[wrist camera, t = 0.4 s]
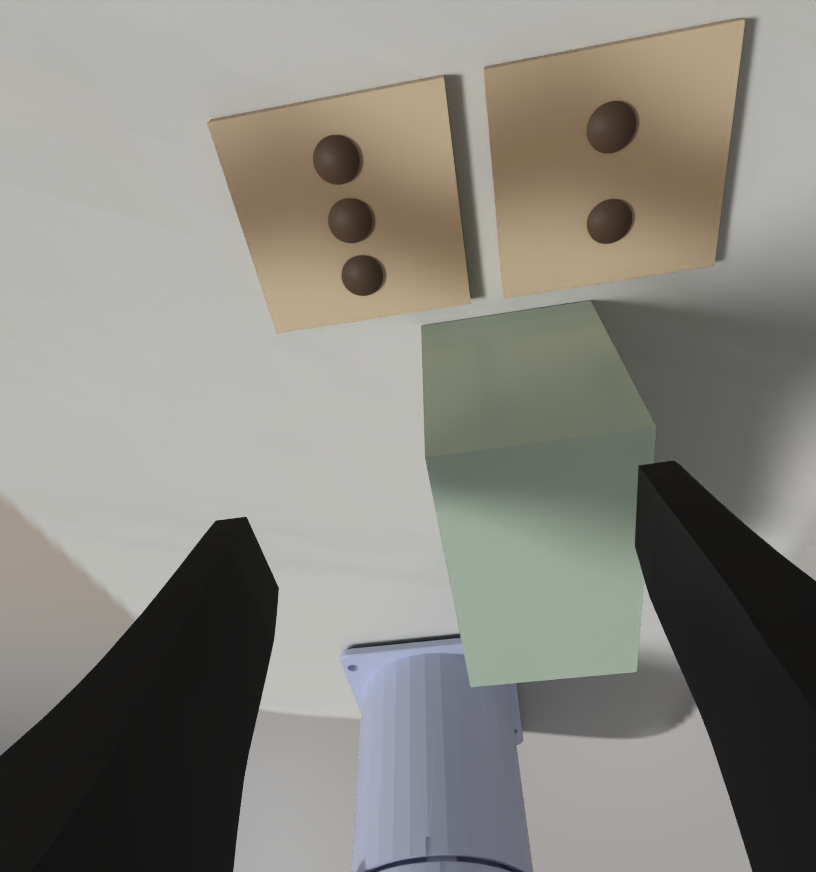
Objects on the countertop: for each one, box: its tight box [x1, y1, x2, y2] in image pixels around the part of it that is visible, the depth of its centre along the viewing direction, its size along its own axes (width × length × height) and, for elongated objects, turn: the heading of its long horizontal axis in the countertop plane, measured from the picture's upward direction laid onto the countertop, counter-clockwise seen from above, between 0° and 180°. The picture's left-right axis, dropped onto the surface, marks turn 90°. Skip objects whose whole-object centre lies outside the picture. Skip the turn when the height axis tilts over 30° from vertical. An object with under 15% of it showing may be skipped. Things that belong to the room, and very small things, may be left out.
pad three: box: [208, 75, 471, 333], centre depth 18 cm, size 6×6×1 cm
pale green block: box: [421, 300, 657, 687], centre depth 20 cm, size 10×5×6 cm, turn 10°
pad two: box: [484, 18, 745, 298], centre depth 17 cm, size 6×6×1 cm
